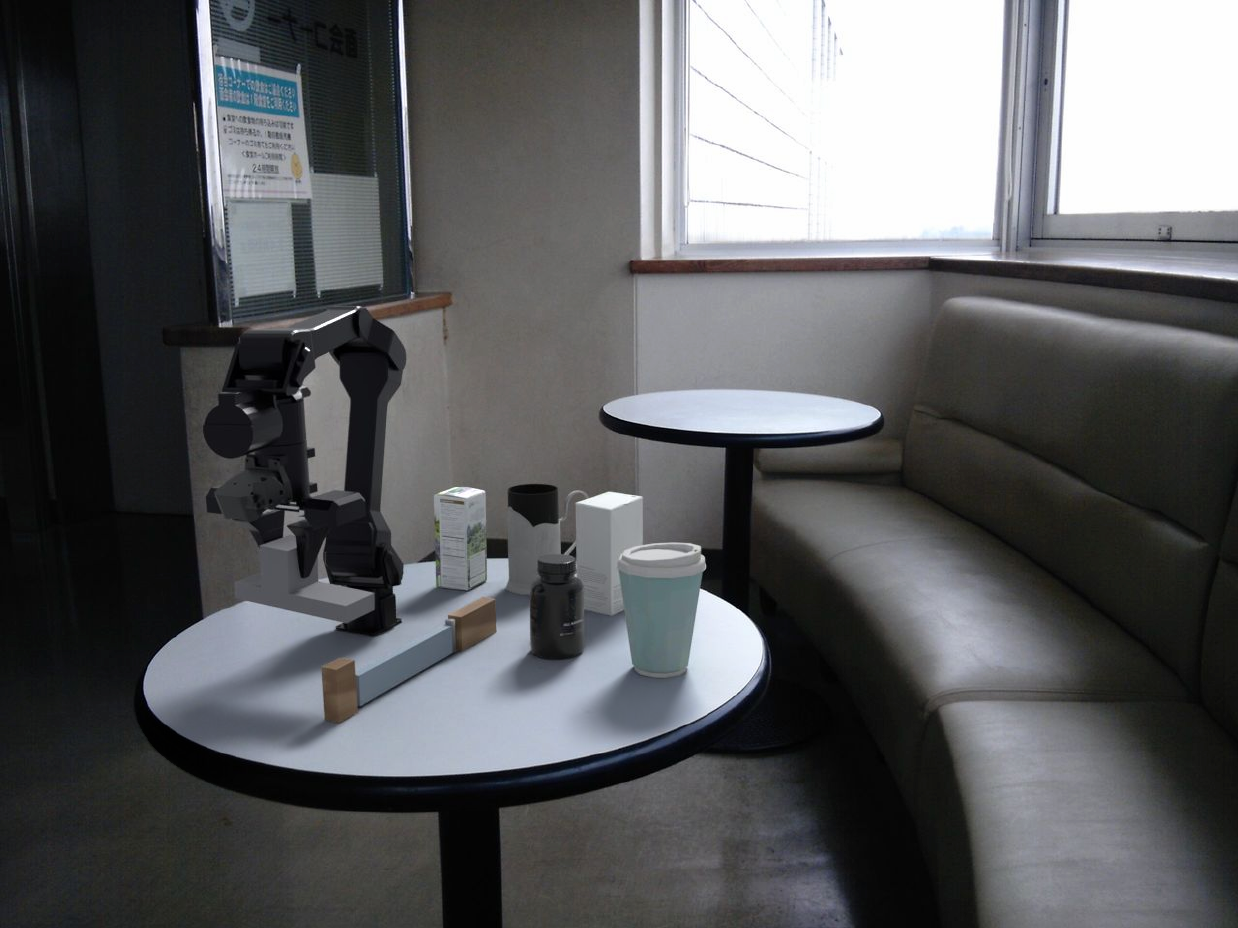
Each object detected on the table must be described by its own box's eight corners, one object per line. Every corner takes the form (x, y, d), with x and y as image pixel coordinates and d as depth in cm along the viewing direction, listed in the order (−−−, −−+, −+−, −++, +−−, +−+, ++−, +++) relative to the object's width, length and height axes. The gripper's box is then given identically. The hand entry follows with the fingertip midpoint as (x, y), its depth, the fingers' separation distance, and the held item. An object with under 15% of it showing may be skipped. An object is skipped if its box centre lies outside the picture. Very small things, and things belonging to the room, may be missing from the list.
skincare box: (609, 594, 158) (608, 490, 155) (646, 602, 154) (646, 495, 151) (574, 609, 151) (572, 501, 148) (612, 617, 147) (611, 507, 144)
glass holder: (495, 584, 163) (492, 487, 160) (576, 568, 171) (574, 476, 168) (523, 598, 156) (520, 497, 153) (605, 582, 164) (604, 485, 161)
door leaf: (351, 704, 118) (349, 670, 118) (450, 648, 135) (448, 618, 135) (360, 706, 118) (358, 671, 117) (458, 649, 135) (456, 619, 134)
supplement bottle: (577, 662, 131) (576, 567, 129) (523, 658, 132) (521, 564, 130) (590, 643, 138) (589, 552, 135) (539, 639, 139) (536, 550, 137)
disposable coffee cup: (603, 678, 126) (602, 555, 123) (634, 648, 136) (633, 532, 133) (691, 690, 122) (691, 563, 119) (715, 657, 132) (716, 539, 129)
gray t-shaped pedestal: (235, 598, 125) (232, 540, 123) (265, 586, 129) (263, 529, 127) (346, 623, 118) (345, 562, 117) (374, 609, 123) (373, 550, 121)
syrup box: (455, 577, 167) (452, 485, 164) (488, 581, 164) (486, 488, 162) (435, 587, 162) (431, 493, 159) (469, 591, 159) (466, 496, 157)
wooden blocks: (324, 719, 115) (321, 666, 114) (483, 629, 143) (482, 586, 142) (339, 723, 114) (336, 669, 113) (496, 631, 142) (495, 587, 141)
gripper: (162, 448, 117) (175, 585, 120) (296, 460, 110) (306, 606, 113) (236, 432, 127) (247, 559, 130) (364, 442, 120) (372, 577, 123)
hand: (290, 575), depth 124 cm, fingers closed on gray t-shaped pedestal, 4 cm apart
